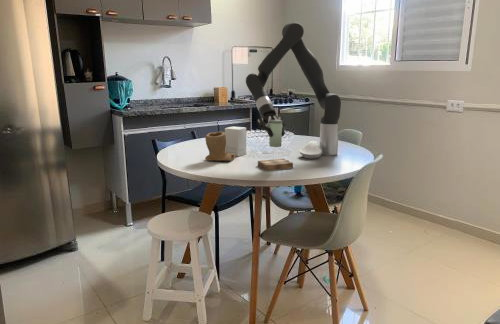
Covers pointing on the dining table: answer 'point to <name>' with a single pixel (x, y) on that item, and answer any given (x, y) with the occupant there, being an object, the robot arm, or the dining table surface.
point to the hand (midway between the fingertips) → (277, 135)
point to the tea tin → (276, 133)
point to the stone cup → (217, 147)
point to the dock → (275, 164)
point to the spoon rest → (311, 150)
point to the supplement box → (235, 140)
